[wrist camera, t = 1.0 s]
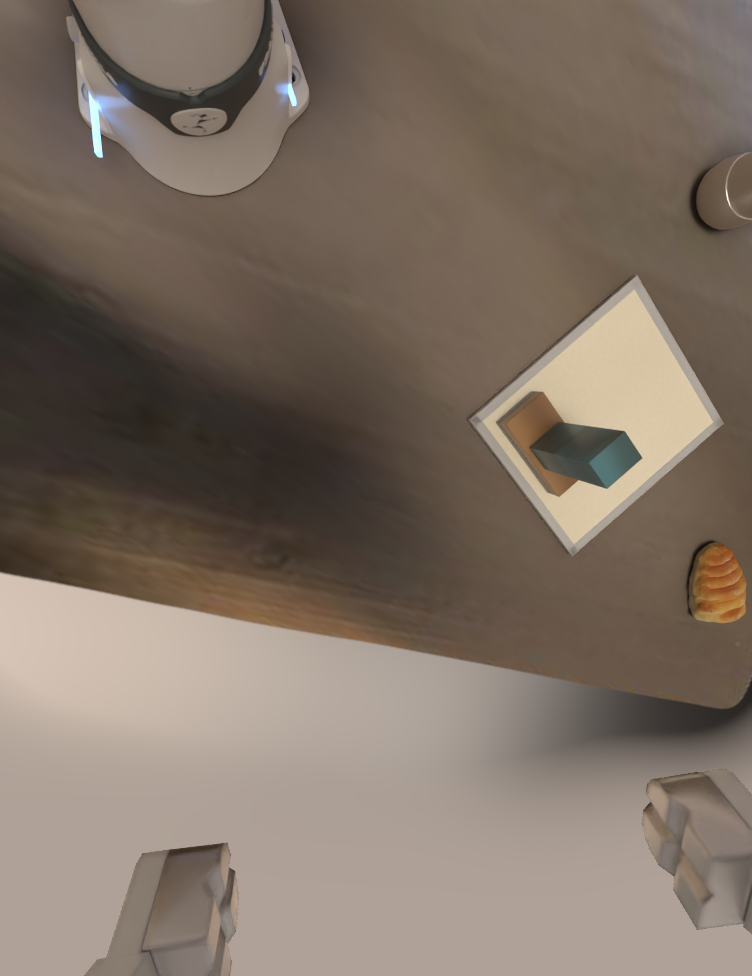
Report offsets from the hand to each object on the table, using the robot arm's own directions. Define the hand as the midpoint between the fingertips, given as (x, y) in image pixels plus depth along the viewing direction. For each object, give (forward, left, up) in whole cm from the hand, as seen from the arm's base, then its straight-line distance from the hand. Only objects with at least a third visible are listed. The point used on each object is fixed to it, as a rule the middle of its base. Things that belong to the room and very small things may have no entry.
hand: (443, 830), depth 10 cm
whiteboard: (+1, +33, -45) cm, 55 cm away
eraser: (+2, +25, -44) cm, 51 cm away
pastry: (+24, +45, -45) cm, 68 cm away
